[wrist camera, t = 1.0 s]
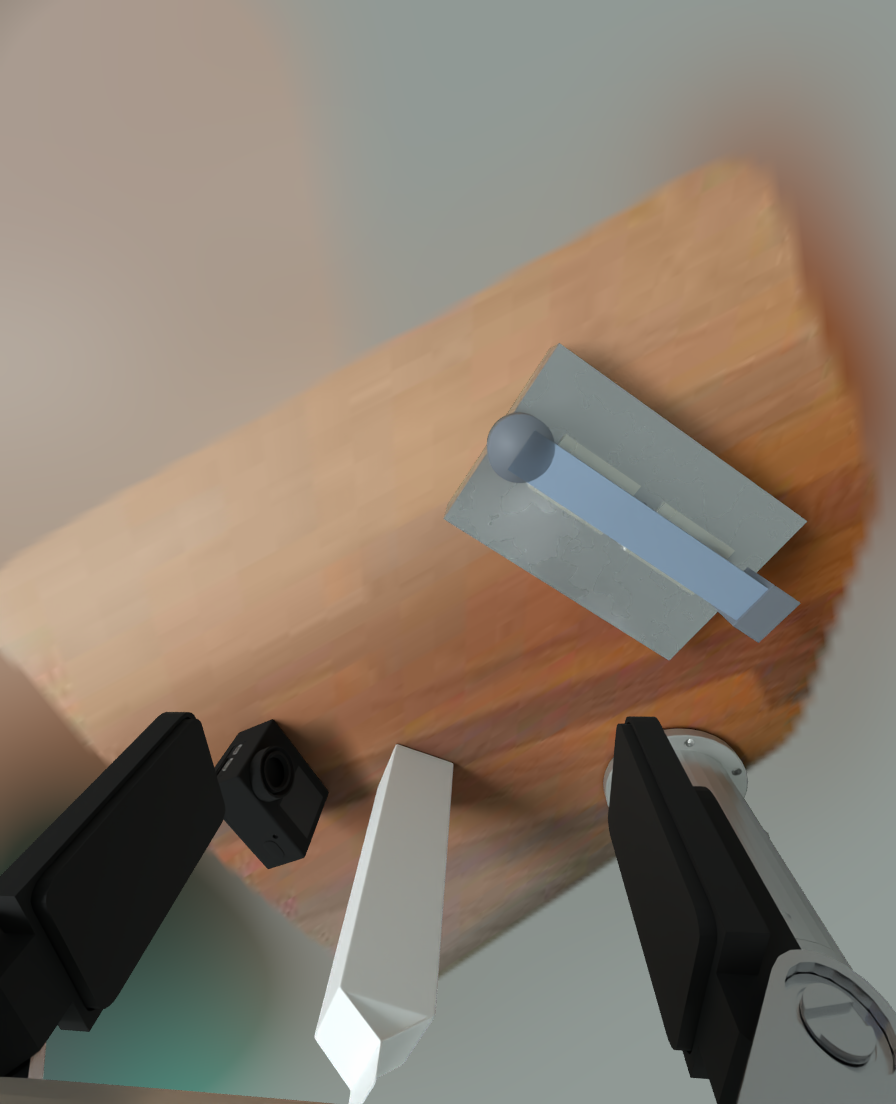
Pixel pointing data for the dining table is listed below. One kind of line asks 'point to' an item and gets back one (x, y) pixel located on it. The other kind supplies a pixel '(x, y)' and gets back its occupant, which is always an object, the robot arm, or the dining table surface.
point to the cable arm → (634, 524)
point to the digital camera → (270, 794)
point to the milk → (391, 926)
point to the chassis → (644, 472)
